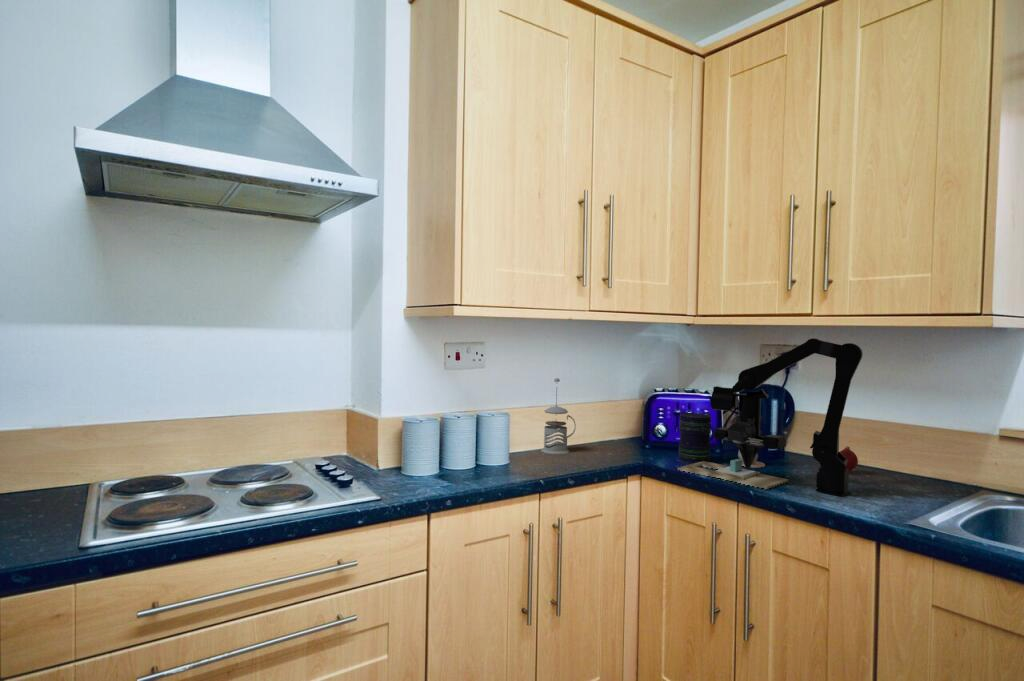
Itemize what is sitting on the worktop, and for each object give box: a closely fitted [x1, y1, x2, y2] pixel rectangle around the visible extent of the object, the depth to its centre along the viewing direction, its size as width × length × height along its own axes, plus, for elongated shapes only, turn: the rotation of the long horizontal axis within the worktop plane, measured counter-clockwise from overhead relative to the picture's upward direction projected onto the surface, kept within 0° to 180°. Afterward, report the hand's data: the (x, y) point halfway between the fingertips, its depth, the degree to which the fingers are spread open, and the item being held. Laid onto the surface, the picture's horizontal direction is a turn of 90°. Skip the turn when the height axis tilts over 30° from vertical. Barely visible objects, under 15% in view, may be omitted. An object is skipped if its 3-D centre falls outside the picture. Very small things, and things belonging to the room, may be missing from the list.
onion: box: [839, 445, 859, 473], centre depth 175 cm, size 6×6×8 cm
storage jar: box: [678, 412, 712, 464], centre depth 187 cm, size 10×10×15 cm
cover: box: [715, 458, 757, 478], centre depth 166 cm, size 8×8×4 cm
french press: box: [540, 377, 577, 455], centre depth 198 cm, size 10×12×25 cm
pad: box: [742, 460, 766, 469], centre depth 184 cm, size 10×10×1 cm
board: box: [677, 461, 789, 490], centre depth 168 cm, size 27×13×2 cm, turn 42°
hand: (747, 467), depth 164 cm, fingers closed
